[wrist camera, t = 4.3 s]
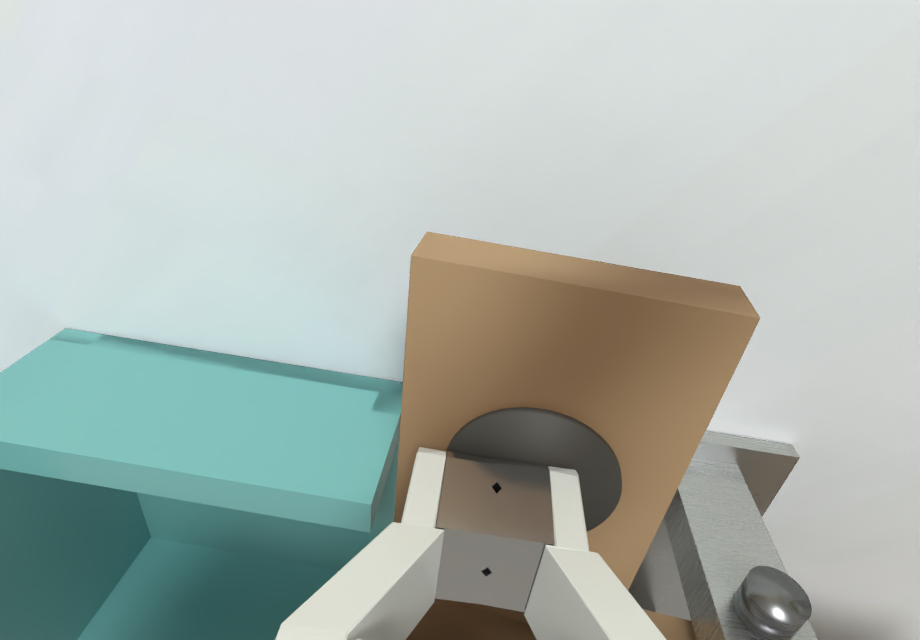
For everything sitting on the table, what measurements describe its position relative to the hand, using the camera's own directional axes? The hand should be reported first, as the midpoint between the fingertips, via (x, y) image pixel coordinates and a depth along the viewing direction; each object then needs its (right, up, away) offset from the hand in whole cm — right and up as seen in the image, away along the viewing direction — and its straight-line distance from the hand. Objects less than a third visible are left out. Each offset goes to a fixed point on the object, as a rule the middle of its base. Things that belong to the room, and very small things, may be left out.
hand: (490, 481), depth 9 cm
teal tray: (-8, -2, +9) cm, 12 cm away
